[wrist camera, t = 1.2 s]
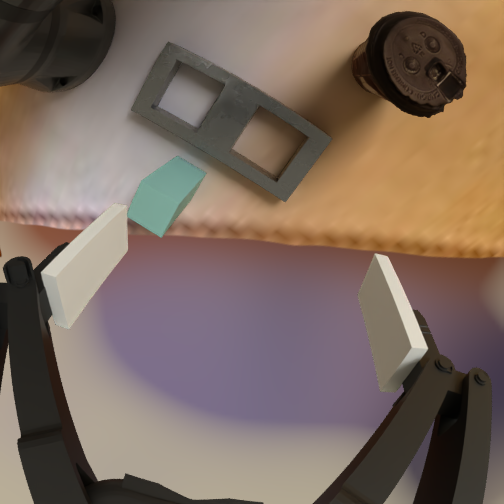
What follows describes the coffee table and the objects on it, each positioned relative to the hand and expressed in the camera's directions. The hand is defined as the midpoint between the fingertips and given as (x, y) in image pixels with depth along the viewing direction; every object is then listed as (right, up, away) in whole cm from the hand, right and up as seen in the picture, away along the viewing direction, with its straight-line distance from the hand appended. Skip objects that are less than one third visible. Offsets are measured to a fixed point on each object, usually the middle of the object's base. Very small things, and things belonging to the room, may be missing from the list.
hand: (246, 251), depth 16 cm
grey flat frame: (-2, +14, +16) cm, 22 cm away
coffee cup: (+14, +19, +12) cm, 26 cm away
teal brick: (-8, +9, +20) cm, 23 cm away
